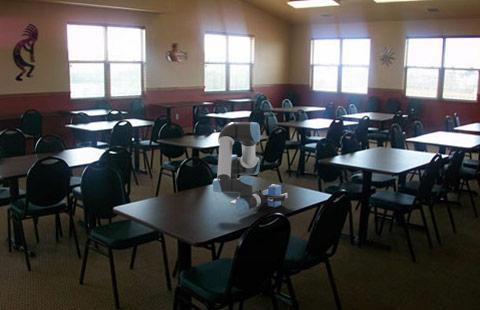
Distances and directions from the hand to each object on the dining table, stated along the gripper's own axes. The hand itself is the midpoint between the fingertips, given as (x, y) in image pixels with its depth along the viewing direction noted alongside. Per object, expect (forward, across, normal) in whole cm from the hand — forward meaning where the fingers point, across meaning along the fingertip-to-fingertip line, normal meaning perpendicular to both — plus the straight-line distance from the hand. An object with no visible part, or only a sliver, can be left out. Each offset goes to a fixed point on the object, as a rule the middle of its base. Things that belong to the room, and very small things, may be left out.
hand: (277, 193), depth 299 cm
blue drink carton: (-3, 0, -7) cm, 7 cm away
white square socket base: (-8, -16, -7) cm, 19 cm away
